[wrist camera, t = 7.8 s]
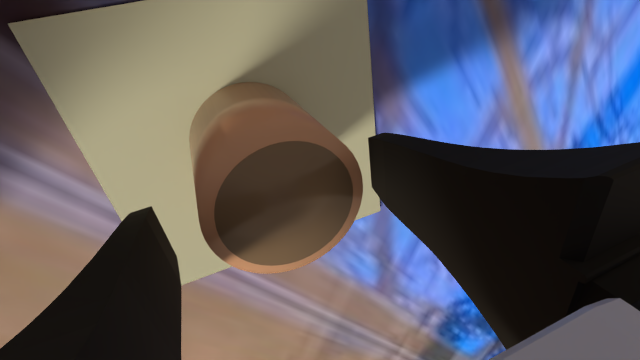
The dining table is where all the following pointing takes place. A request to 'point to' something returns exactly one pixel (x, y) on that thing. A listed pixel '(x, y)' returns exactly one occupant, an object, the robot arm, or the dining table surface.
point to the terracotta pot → (270, 180)
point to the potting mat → (196, 90)
